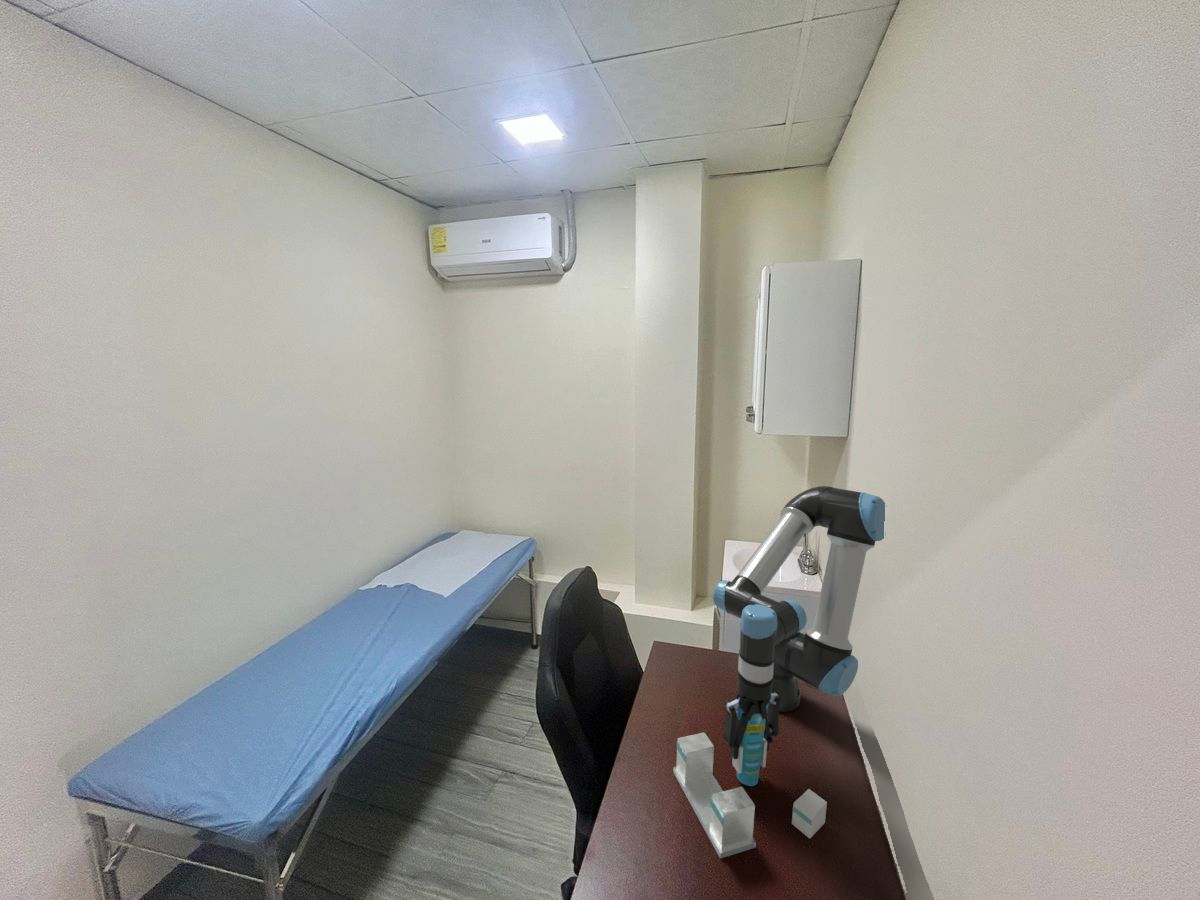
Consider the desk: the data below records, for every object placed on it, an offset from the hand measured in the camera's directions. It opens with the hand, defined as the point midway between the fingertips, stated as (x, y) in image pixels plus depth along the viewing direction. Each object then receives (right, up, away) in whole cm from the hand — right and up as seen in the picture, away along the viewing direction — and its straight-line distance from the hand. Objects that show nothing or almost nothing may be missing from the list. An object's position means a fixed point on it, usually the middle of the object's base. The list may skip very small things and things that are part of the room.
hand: (748, 765), depth 107 cm
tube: (0, -3, 0) cm, 4 cm away
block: (+9, -5, -10) cm, 15 cm away
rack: (-11, -4, -7) cm, 13 cm away
